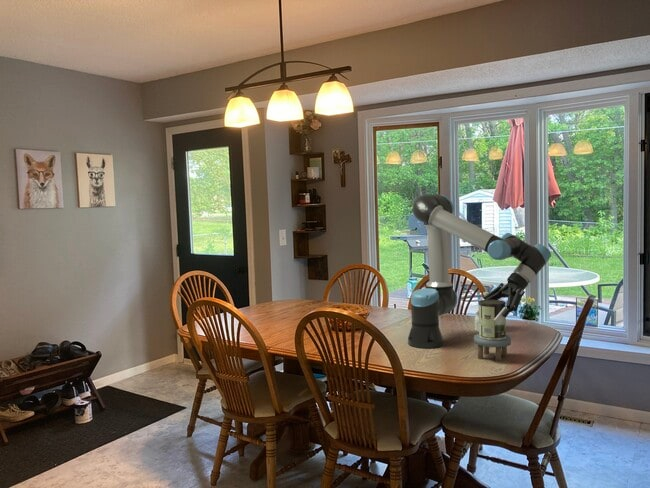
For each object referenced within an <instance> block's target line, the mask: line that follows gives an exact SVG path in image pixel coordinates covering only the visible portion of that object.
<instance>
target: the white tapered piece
mask: <svg viewBox="0 0 650 488" xmlns="http://www.w3.org/2000/svg"><path fill="white" fill-rule="evenodd" d="M489 293H490V292H488V291H484V292H483V293H482V294H483V298H482V300H484V297H485V296H486V295H487V294H489ZM477 307H478V308H479V303H477ZM475 315H476V316H475V317H474V330H475V331H477V332H479V316H478V315H477V314H476V313H475Z"/></svg>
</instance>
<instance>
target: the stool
mask: <svg viewBox="0 0 650 488" xmlns="http://www.w3.org/2000/svg"><path fill="white" fill-rule="evenodd" d="M473 343H474V344H475V345H477V359H478V360H483V359H484V355H490V348H495V362H498V363H499V362H502V358H507V356H508V353H507V352H508V350H507V348H508V347H509V346H511V344H512V337H511V336H510V335H507V334H506V338H505V339H502V340H487V339H482V338H480V337H479V333H477V334H474V335H473Z"/></svg>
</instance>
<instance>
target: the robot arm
mask: <svg viewBox="0 0 650 488" xmlns="http://www.w3.org/2000/svg"><path fill="white" fill-rule="evenodd" d="M412 213H413V215H414V217H415V219H416V220H418V221H420V222H421V223H422V224H423V226H424V227H425V228H426V231H427V251H428V253H427V254H428V255H427V256H428V270H429V271H428V274H429V275H428V276H429V282H427V284H426V287H425V288H419V289H416V290H414V291H412V292H411V297H410V299H411V300H410V305H411V308H410V309H411V328H410V330H409V333H408V336H407V337H408V338H407V345H409V346H411V347H414V348H419V349H435V348H439V347H442V346H443V345H444V338H443V335H442V332H441V329H440V321H439V319H440V316H442V315H446V314H449V313H450V312H452V311H453V310H454V309H455V308H456V307H457V304H458V300H459V299H458V295H457V292H456V291H455V289H453V288H454V287H453V283H452V282H451V281H450V275H449V272H450V271H449V254H448V253H449V252H448V248H449V247H448V233H449V234H450V235H452V236H454V237H456V238H459V239H460V240H462V241H464V242H466V243H467V244H470V245H471V246H474V247H476V248H478V249H480V250H481V251H484V252H485V253H488V255H489V257H490V258H491V259H494V260H495V261H496V260H497V261H502V260H506V259H508V258H514V259H516V260H518V261H519V264H518V265H517V266H516V268H515V269H514V270H513V272H511V274H510V275H509V276H508V277H507V278H506V280H507V283H506V284H504V283H503V282H501V283H500V284H499V285H498V286H497V287H495V288H494V289H493V290H491V291H490V292H489V294H487V295H486V296H483V298H484V300H501V298H507V301H506V307H504V308H503V309H502V311H501V312H500V313H499V314H498V315H497V317H496V318H495V319H494V321H495V322H496V323H497V324H498V325H500V323H501V322H502V321H503V320H504V319H505V317H508V315H509V314H510V313H512V312H517V311H518V309H519V305H520V303H521V301H522V298H523V296H524V295H525V293H526V291H525V289H527V288H528V286H529V284H530V283H531V282H532V281H533V279H534V278H535V277H536V276H537V274H539V272H540V271H541V270H542V269H543V268H544V266H545V265H547V263H548V262H549V261H550V259H551V257H552V252H551V251H550V249H549V248H548V247H547V246H546V245H543V244H540V243H536V244H535V245H530V244H528V243H527V242H525V241H524V240H523V239H521V238H519V237H517V236H516V235H514V234H512V233H511V232H506V233H504V234H503V235H502V236H501V237H500V236H498V235H495V233H491V232H490V231H487V230H486V229H484V228H481V227H480V226H477V225H476V224H473V223H472V222H469V221H468V220H465V219H464V218H461V217H459V216H457V215H455V214H453V213H454V204H453V202H452V200H451V199H450V198H449V197H448V196H446V195H443V194H438V193H437V194H423V195H420V196H418V197H417V198H416V199H415V200H414V202H413V205H412ZM476 314H477V315H478V316H479V308H477V310H476V311H475V315H476Z"/></svg>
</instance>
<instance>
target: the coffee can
mask: <svg viewBox="0 0 650 488" xmlns="http://www.w3.org/2000/svg"><path fill="white" fill-rule="evenodd" d="M477 302H478V303H477V304H479V307H478V309H479V331H478V332H479V333H478V334H479V337H480V338H482V339H487V340H502V339H505V338H506V335H507V333H506V331H507V329H506V328H507V327H506V326H507V325H506V323H507V322H506V321H507V319H506V317H505V319H504V320H503V321H502V322H501V323H500V325H498V324H497V323H496V322H495V321H494V319H495V318H496V317H497V315H498V314H499V313H500V312H501V311H502V309H503V308H504V307H506V305H507V301H505V300H501V299H498V300H483V299H481V300H479V301H477ZM506 308H507V307H506Z"/></svg>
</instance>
